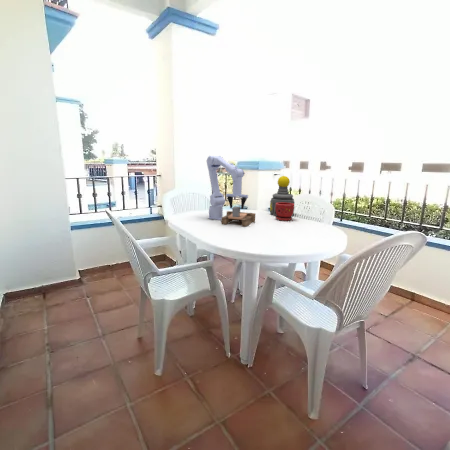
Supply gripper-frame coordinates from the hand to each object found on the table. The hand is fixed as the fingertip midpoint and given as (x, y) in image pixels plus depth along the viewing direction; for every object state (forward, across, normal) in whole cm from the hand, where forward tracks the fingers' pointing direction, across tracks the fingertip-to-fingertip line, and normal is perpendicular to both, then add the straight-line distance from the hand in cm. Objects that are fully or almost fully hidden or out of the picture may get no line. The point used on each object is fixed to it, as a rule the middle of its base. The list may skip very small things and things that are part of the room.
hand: (236, 208), depth 181 cm
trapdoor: (+6, 0, +2) cm, 6 cm away
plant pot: (+11, +27, +27) cm, 40 cm away
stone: (+5, 0, 0) cm, 5 cm away
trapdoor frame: (+10, 0, +2) cm, 11 cm away
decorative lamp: (+11, +22, +45) cm, 51 cm away
